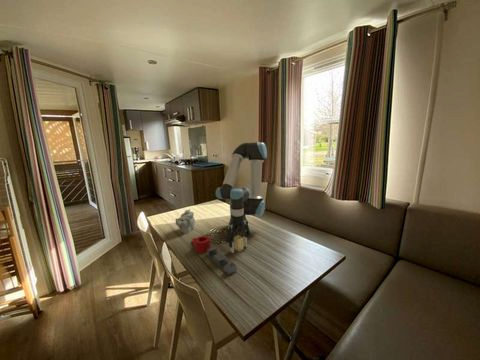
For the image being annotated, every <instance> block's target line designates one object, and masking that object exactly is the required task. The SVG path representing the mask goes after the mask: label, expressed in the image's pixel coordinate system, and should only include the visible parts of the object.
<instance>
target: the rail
mask: <svg viewBox="0 0 480 360" xmlns="http://www.w3.org/2000/svg"><path fill="white" fill-rule="evenodd" d="M206 256H208V258H209V259H211V260H212V261H213V262H214V263H215V264H216V265H217V266H218V268H220V269H221V270H222V271H223V272H224V273H225V274H226V275H227V276H230V275H232V274H234V273H236V272H237V264H236V263H234V262H230V263H229V262H228V257H227V256H226V255H225V254H224V253H223V252H219V253H218V249H217V248H216V247H215V246H211V248H209V249H207V252H206Z"/></svg>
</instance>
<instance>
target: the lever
mask: <svg viewBox="0 0 480 360" xmlns="http://www.w3.org/2000/svg"><path fill="white" fill-rule="evenodd" d="M192 244H193V246H194V249H195V252H197V253H199V254H204V253H207V249H209V248H211V247H212V245H211V237H210V236H207V235H201V236H197V237H193V238H192Z"/></svg>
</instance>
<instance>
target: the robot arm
mask: <svg viewBox="0 0 480 360" xmlns="http://www.w3.org/2000/svg"><path fill="white" fill-rule="evenodd" d="M267 157H268V150H267V145H266V144H265V142H259V141H255V142H242V143H241V144H239V145H238V146H237V147H236V148H235V149H234V150H233V151H232V153H231V161H230V163H229V165H228V169H227V171H226V173H225V177H224V179H223V183H222V185H221V187H217V188H216V190H215V196H216V198H217V199H219V200H228V201H229V213H230V214H229V215H230V219H229V220H228V221H229V223H228V225H227V232H226V238H225V242H226V243H228V246H229V248H230V252H231V253H233V254H234V253H235V247H234V237H236V234H237V233H238V231H241V233H242V234H243V236H242V237H243V247H245V248H248V241H249V237H250V236H251V232H250V227H249V221H248V219H247V217H246V216H254V217H262V216H263V215H264V212H265V209H266V201H265V200H264V198H263V196H262V176H263V173H262V172H263V163H264V162H265V159H268V158H267ZM245 159H248V162H249V164H250V167H249V168H250V169H249V188H248V187H242V188H236V187H235V188H234V186H235V183H236V180H237V177H238V174H239V171H240V169H241V165H242V163H243V162H244V161H245Z"/></svg>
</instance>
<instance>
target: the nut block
mask: <svg viewBox="0 0 480 360" xmlns="http://www.w3.org/2000/svg"><path fill="white" fill-rule="evenodd" d="M233 243H234V251H236V252H238V253H240V252H241V251H245V250H244V247H245V246H244V238H243V236H241V235H237V236H236V235H235V236H234V239H233Z"/></svg>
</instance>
